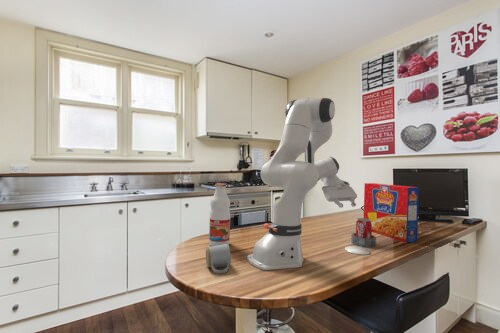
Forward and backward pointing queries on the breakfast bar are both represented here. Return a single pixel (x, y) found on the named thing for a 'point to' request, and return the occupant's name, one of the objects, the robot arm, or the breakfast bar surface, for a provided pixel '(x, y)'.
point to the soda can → (364, 228)
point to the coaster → (357, 250)
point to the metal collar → (363, 241)
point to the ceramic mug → (218, 257)
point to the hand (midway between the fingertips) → (348, 206)
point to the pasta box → (392, 210)
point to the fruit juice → (219, 217)
